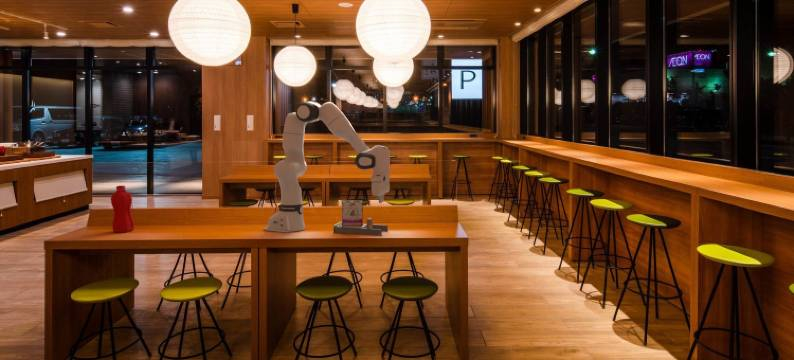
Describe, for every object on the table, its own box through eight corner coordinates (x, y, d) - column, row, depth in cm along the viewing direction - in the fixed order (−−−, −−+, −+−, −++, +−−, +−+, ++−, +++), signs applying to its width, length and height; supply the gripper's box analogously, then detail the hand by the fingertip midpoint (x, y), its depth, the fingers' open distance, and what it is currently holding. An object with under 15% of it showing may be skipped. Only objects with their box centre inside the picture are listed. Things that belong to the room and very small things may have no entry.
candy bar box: (361, 230, 288) (362, 200, 288) (362, 231, 284) (363, 201, 283) (341, 230, 287) (341, 200, 286) (341, 231, 282) (342, 200, 281)
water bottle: (127, 233, 282) (124, 187, 279) (109, 232, 284) (106, 186, 281) (139, 230, 291) (136, 184, 288) (122, 229, 293) (119, 184, 290)
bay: (333, 232, 282) (333, 225, 281) (341, 228, 293) (341, 221, 293) (381, 235, 275) (381, 227, 274) (387, 230, 286) (387, 223, 286)
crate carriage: (336, 231, 283) (336, 218, 282) (342, 228, 291) (342, 215, 291) (368, 233, 278) (368, 220, 277) (373, 230, 286) (373, 217, 286)
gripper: (381, 174, 288) (381, 199, 290) (369, 178, 269) (369, 205, 270) (392, 174, 287) (392, 200, 288) (381, 178, 267) (381, 205, 269)
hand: (381, 202), depth 279 cm, fingers closed
